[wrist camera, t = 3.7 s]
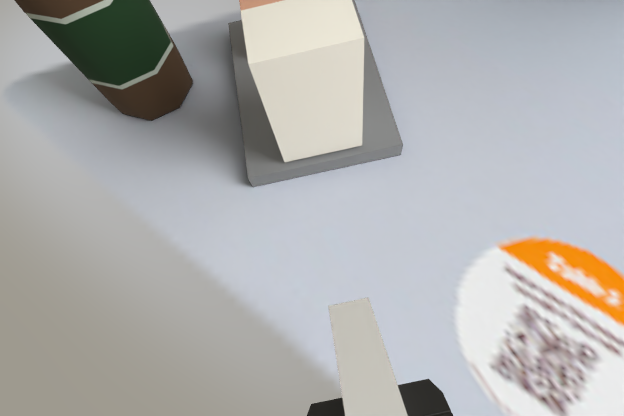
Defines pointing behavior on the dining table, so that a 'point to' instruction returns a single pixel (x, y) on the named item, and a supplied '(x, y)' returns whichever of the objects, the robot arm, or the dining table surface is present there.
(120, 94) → the beer bottle
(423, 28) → the dining table surface
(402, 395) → the robot arm
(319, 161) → the base
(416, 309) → the dining table surface
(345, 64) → the cream tall block
